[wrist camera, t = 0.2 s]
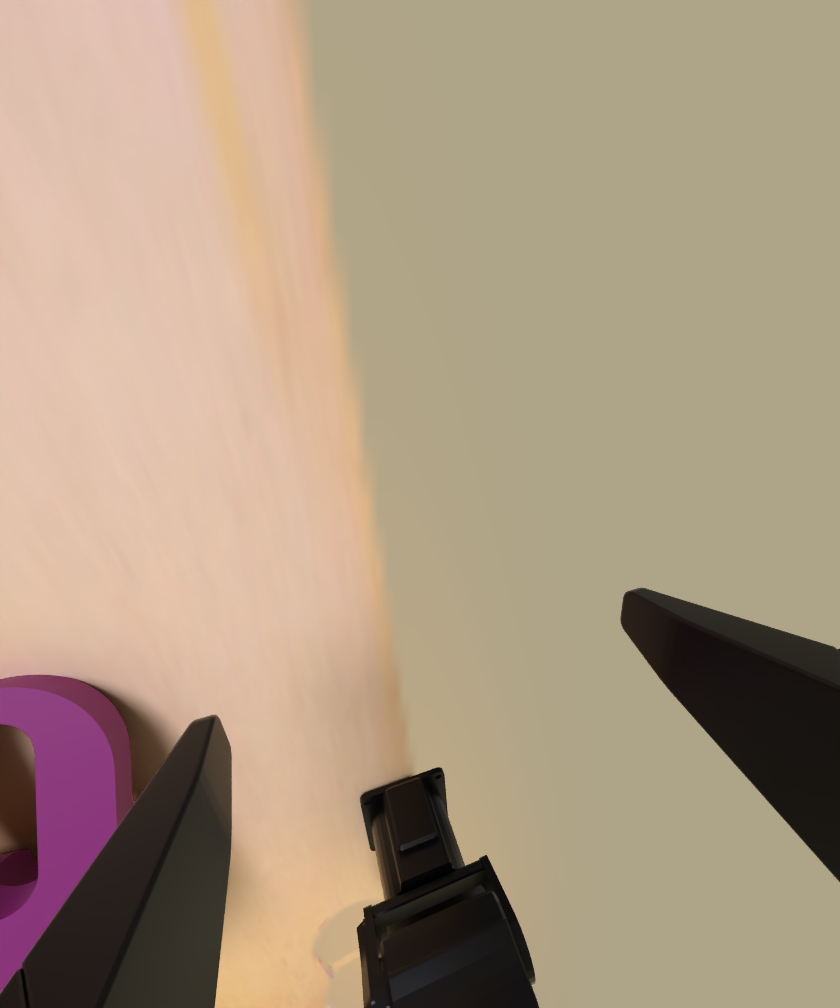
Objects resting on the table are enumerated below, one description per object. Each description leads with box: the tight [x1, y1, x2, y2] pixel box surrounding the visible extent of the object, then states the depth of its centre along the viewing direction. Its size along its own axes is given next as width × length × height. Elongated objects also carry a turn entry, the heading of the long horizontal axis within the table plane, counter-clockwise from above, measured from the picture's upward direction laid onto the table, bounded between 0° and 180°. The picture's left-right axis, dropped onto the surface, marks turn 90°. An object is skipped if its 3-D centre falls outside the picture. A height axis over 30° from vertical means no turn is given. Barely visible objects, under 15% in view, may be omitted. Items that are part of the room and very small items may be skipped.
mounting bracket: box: [0, 675, 133, 992], centre depth 23 cm, size 9×8×18 cm
